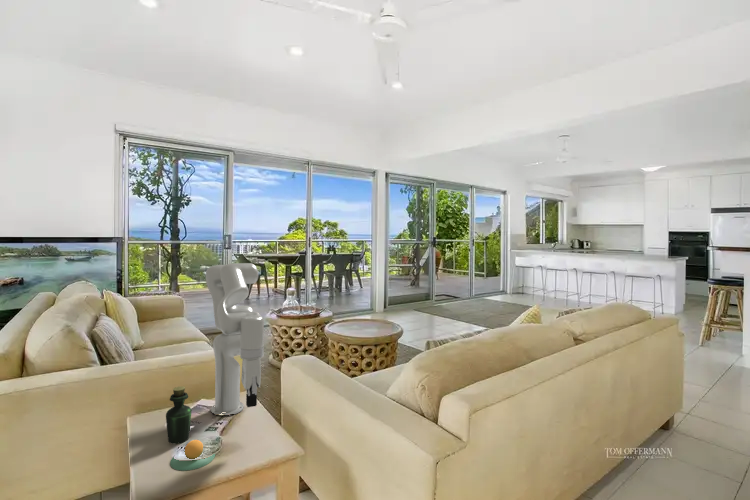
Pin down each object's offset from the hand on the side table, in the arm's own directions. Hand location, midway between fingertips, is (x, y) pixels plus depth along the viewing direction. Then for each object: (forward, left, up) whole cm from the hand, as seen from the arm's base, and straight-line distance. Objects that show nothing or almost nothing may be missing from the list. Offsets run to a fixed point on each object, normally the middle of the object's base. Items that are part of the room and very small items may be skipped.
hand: (251, 405), depth 134 cm
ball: (+1, -18, -11) cm, 21 cm away
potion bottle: (-14, -22, -14) cm, 29 cm away
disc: (+1, -18, -13) cm, 23 cm away
